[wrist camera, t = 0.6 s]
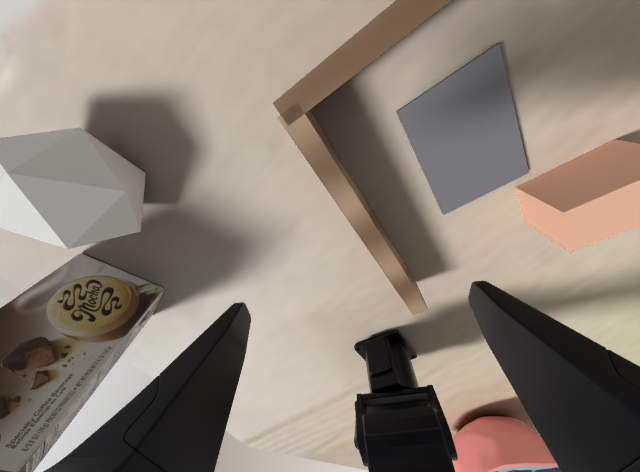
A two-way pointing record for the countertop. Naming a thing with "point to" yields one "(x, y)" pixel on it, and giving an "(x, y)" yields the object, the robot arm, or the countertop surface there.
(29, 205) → the die
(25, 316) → the coffee box
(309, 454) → the countertop surface
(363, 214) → the wooden corner wall
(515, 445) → the cell model
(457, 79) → the mat
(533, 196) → the block
